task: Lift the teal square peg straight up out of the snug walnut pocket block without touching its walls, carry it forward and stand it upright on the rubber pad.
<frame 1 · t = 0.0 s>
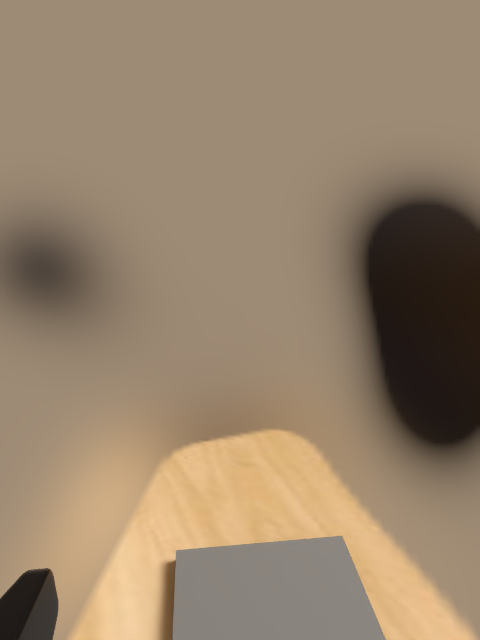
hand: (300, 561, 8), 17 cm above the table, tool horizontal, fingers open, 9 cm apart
pad: (275, 630, 22), on the table
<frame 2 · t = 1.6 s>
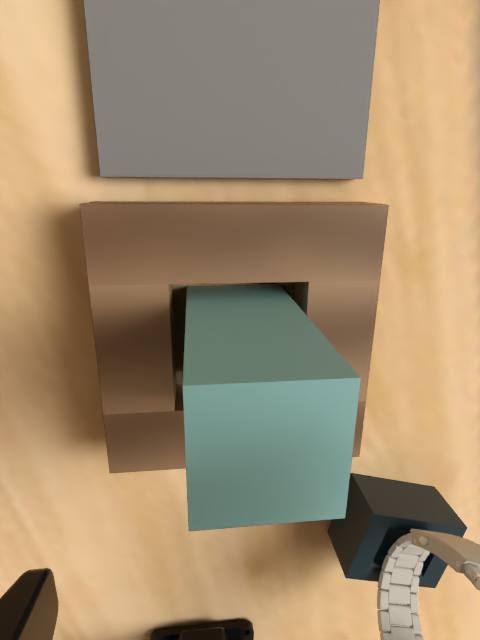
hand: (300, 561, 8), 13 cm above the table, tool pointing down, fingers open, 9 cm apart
pocket: (233, 329, 20), on the table
peg: (246, 373, 15), in the pocket
pad: (234, 44, 16), on the table
watch: (379, 508, 25), on the table
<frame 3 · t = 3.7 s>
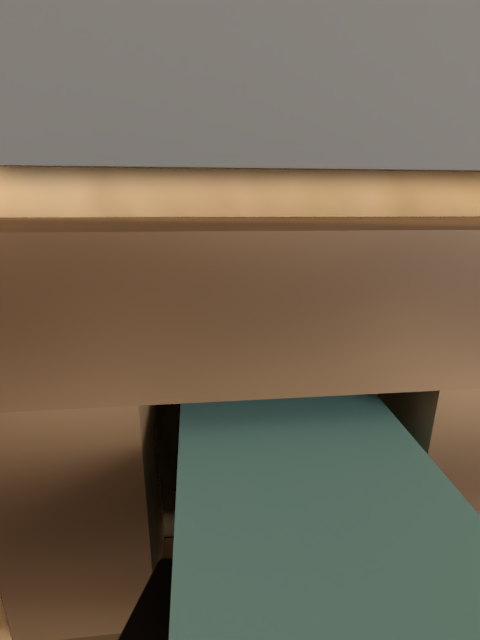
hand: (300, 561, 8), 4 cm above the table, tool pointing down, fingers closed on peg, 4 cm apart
pocket: (267, 446, 11), on the table
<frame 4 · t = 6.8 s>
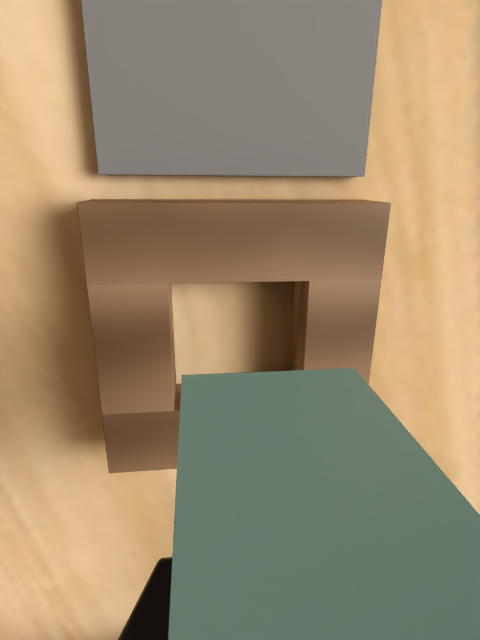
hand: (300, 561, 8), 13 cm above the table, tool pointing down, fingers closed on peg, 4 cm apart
pocket: (233, 328, 20), on the table
pad: (234, 39, 16), on the table
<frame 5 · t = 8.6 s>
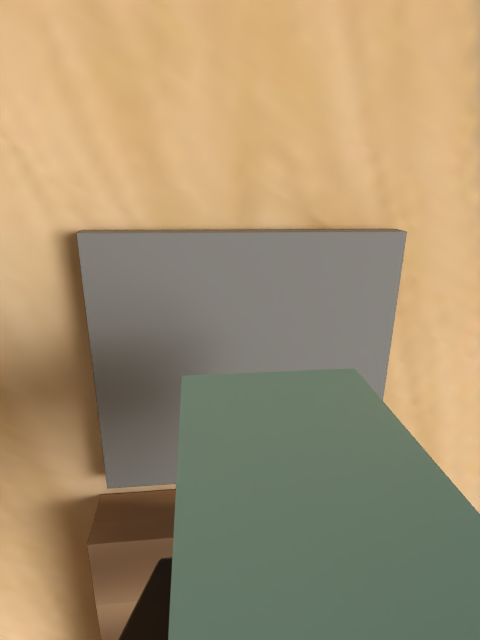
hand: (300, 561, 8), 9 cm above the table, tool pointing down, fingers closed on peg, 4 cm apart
pocket: (240, 584, 20), on the table
pad: (244, 360, 16), on the table
when the fingers open (5 cm above the table, at t = 9.9 s): peg drops 1 cm, resting on pad.
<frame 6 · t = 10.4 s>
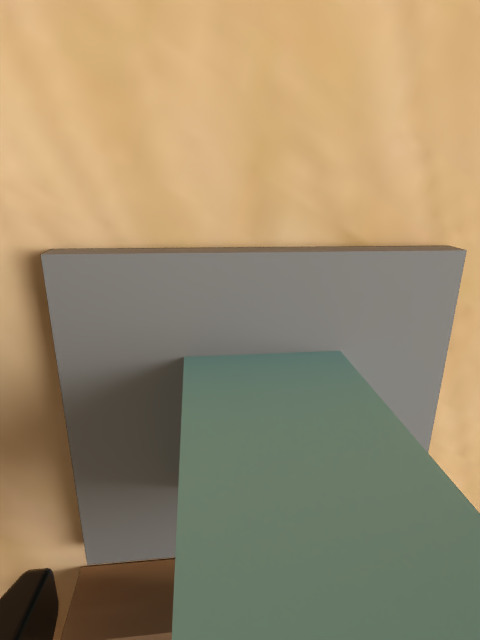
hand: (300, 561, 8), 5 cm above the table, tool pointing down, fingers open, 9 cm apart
peg: (306, 576, 7), on the pad, point 6 cm above the table
pad: (256, 406, 13), on the table
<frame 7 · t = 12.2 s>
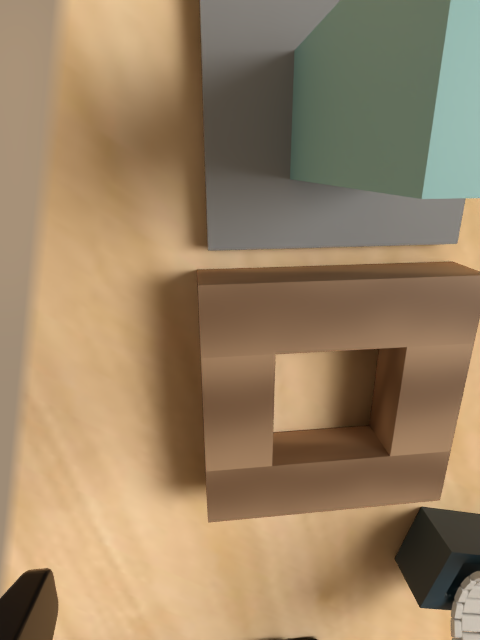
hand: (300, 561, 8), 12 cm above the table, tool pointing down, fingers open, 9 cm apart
pocket: (320, 381, 21), on the table
peg: (413, 99, 11), on the pad, point 6 cm above the table
pad: (340, 119, 16), on the table
watch: (443, 536, 26), on the table
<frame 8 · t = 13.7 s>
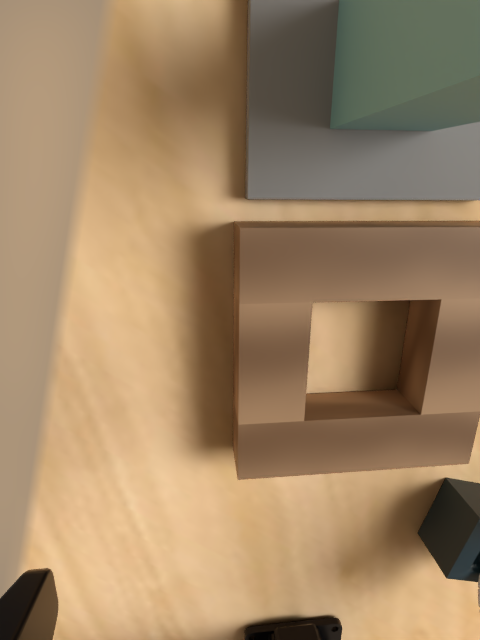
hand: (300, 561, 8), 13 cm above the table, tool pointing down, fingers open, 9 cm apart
pocket: (350, 341, 21), on the table
peg: (468, 24, 12), on the pad, point 6 cm above the table
pad: (378, 73, 17), on the table
watch: (467, 510, 26), on the table
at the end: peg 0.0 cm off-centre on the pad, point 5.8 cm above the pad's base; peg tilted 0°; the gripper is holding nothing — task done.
